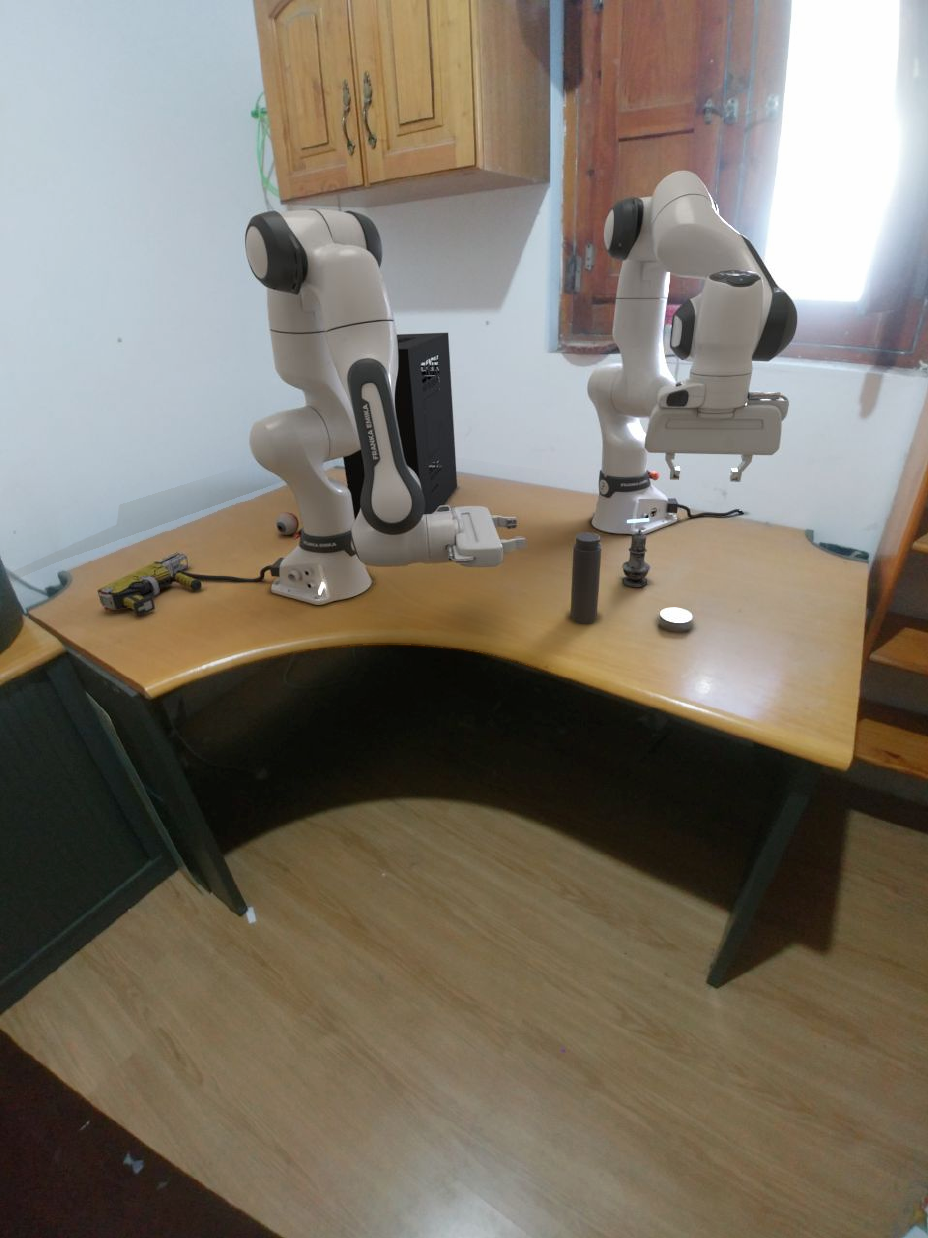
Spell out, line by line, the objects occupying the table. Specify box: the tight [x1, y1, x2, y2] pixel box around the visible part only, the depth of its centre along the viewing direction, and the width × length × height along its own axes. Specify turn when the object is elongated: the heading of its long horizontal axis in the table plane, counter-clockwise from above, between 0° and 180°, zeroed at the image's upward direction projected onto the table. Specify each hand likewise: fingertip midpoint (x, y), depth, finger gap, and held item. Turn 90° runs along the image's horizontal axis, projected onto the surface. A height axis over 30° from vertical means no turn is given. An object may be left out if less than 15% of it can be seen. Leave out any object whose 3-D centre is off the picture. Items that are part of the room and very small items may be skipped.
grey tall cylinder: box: [569, 532, 603, 624], centre depth 114 cm, size 5×5×17 cm
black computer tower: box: [342, 332, 458, 524], centre depth 169 cm, size 38×20×45 cm, turn 167°
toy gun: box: [97, 551, 203, 617], centre depth 137 cm, size 5×24×15 cm
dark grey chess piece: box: [621, 529, 651, 588], centre depth 127 cm, size 6×6×12 cm
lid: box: [658, 607, 693, 633], centre depth 114 cm, size 6×6×2 cm
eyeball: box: [275, 511, 300, 536], centre depth 163 cm, size 6×6×6 cm
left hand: (520, 531), depth 109 cm, fingers open, 8 cm apart
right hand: (704, 479), depth 100 cm, fingers open, 8 cm apart
